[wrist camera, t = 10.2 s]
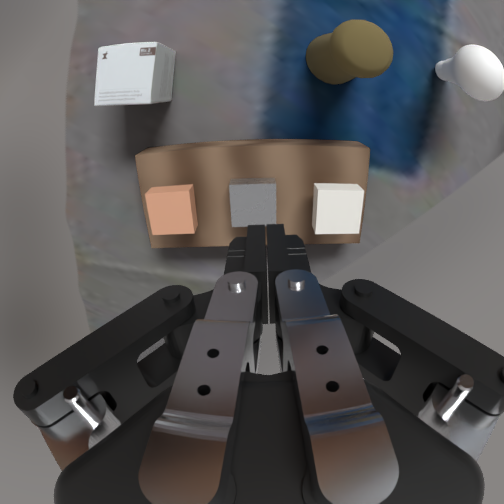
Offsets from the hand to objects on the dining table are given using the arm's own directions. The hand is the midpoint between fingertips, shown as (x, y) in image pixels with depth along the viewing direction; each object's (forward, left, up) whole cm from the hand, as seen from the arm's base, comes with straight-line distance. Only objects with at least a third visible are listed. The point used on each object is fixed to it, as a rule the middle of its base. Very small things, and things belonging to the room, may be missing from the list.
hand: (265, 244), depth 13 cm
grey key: (+1, +4, -18) cm, 18 cm away
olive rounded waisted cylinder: (-8, -10, -22) cm, 26 cm away
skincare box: (+12, -9, -22) cm, 27 cm away
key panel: (+1, +5, -22) cm, 22 cm away
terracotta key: (+9, +5, -17) cm, 19 cm away
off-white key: (-7, +4, -16) cm, 18 cm away
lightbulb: (-22, -11, -22) cm, 33 cm away
